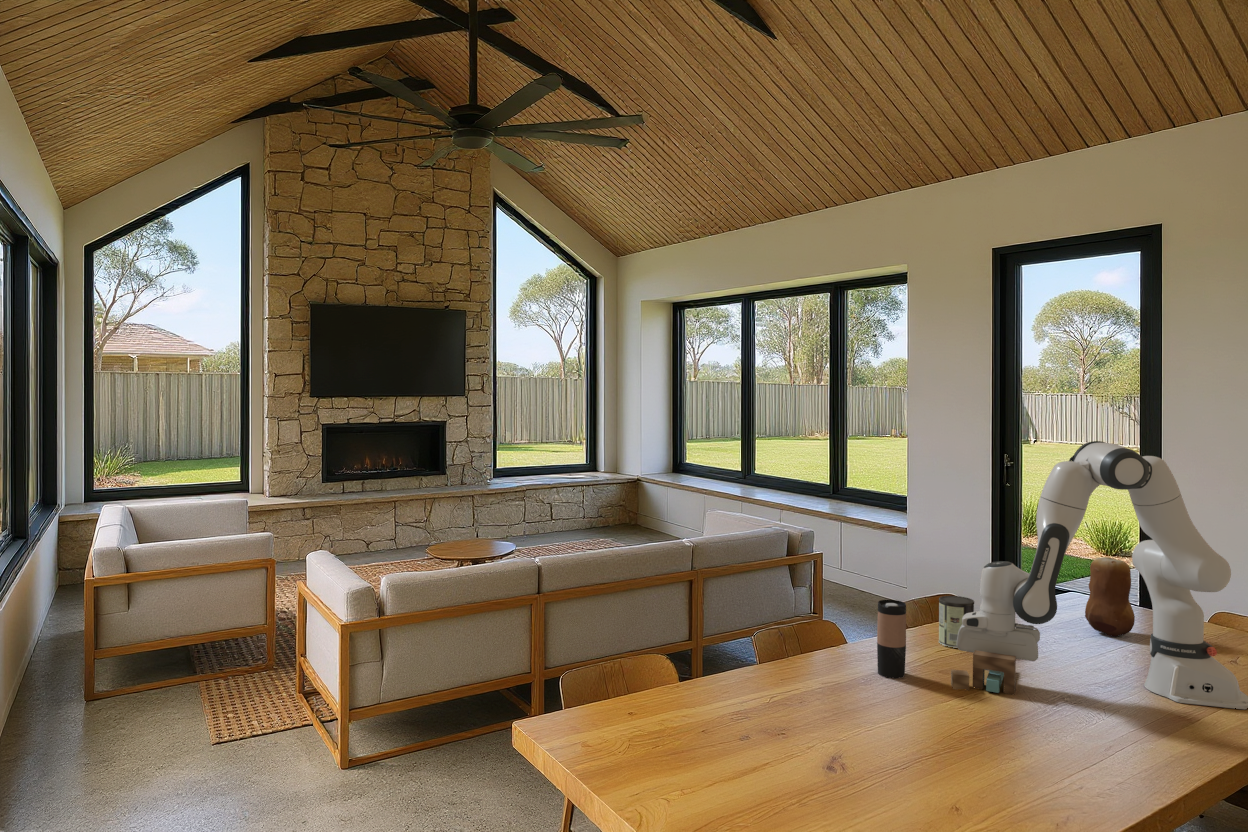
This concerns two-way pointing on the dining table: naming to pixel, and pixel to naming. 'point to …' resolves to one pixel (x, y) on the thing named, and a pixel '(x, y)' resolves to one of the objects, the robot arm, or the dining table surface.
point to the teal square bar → (994, 681)
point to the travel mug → (891, 638)
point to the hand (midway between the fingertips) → (996, 671)
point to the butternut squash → (1110, 597)
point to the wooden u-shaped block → (994, 668)
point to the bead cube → (959, 679)
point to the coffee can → (952, 617)
